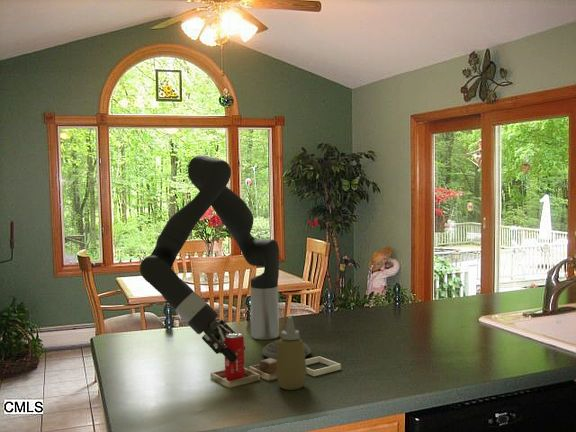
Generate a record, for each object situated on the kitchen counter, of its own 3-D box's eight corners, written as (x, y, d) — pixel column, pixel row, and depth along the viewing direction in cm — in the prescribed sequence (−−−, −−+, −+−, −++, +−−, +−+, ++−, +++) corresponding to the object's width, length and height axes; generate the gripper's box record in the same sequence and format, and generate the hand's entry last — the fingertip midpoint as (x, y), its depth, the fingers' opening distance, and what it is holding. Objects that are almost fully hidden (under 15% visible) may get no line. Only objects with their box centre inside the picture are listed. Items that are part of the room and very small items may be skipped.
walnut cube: (260, 375, 165) (259, 360, 165) (270, 371, 168) (270, 357, 167) (270, 378, 162) (270, 363, 162) (280, 374, 165) (280, 360, 165)
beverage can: (241, 382, 159) (240, 338, 158) (222, 381, 160) (221, 337, 159) (246, 376, 164) (245, 333, 163) (228, 375, 165) (227, 332, 164)
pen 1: (210, 378, 163) (210, 372, 163) (240, 371, 168) (240, 365, 168) (228, 387, 155) (228, 382, 155) (259, 379, 161) (259, 374, 161)
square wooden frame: (249, 371, 168) (248, 366, 168) (277, 364, 173) (277, 359, 173) (268, 380, 160) (268, 375, 160) (297, 373, 166) (297, 367, 165)
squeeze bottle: (274, 382, 159) (273, 314, 158) (305, 380, 160) (303, 313, 158) (276, 392, 151) (275, 322, 150) (308, 391, 152) (307, 320, 150)
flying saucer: (286, 346, 193) (286, 329, 193) (321, 355, 183) (321, 337, 182) (251, 356, 183) (251, 338, 183) (286, 367, 172) (285, 348, 172)
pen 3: (292, 367, 170) (292, 362, 170) (319, 361, 176) (319, 356, 176) (313, 376, 163) (313, 371, 162) (340, 369, 168) (340, 363, 168)
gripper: (197, 308, 155) (242, 354, 154) (213, 297, 169) (254, 339, 168) (178, 328, 156) (222, 373, 155) (195, 316, 170) (236, 357, 169)
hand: (239, 355), depth 161 cm, fingers open, 8 cm apart
